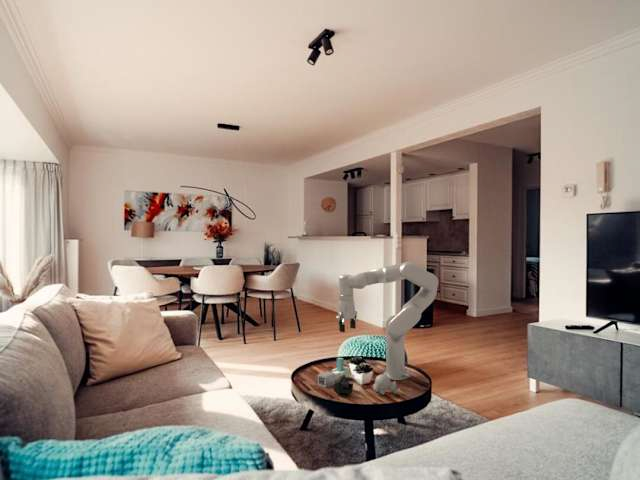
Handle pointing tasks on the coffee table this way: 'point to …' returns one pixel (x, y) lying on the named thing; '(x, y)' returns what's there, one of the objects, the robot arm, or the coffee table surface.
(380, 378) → the chubby cartoon animal
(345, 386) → the end cap
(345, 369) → the socket block
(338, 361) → the slip tube
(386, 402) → the coffee table surface
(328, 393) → the coffee table surface
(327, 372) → the sleeve
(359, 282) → the robot arm
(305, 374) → the coffee table surface
